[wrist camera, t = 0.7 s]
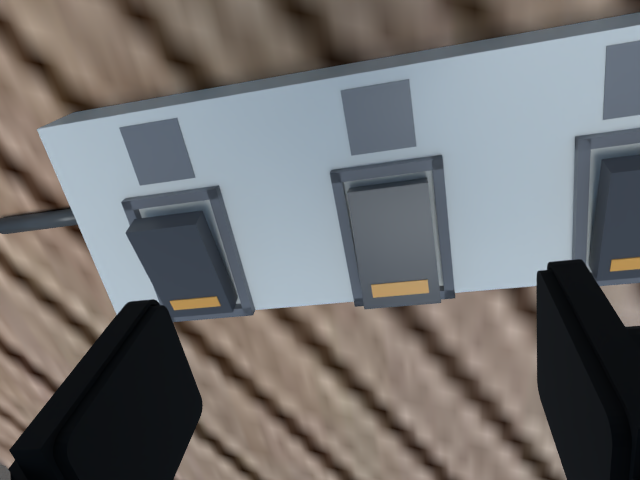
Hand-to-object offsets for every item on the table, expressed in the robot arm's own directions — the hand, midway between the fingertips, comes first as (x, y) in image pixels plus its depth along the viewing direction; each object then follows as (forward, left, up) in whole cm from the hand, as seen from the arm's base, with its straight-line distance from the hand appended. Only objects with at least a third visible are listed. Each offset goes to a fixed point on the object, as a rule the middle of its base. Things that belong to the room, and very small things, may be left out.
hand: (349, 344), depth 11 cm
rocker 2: (+7, +13, -18) cm, 24 cm away
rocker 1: (+7, -13, -18) cm, 24 cm away
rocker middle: (+7, 0, -18) cm, 20 cm away
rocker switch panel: (+5, -5, -24) cm, 25 cm away
